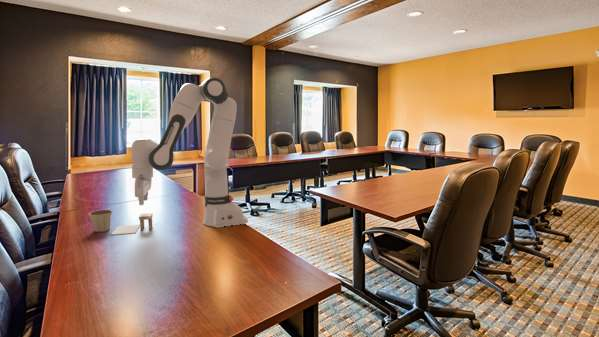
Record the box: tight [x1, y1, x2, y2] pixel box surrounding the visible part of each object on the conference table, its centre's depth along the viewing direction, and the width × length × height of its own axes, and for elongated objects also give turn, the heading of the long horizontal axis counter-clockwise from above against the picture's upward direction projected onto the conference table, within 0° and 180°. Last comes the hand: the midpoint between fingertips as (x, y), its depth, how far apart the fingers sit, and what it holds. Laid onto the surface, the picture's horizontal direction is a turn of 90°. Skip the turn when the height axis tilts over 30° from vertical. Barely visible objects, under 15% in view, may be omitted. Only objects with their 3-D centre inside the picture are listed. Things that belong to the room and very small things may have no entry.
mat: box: [110, 224, 140, 236], centre depth 155 cm, size 10×12×1 cm
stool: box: [138, 212, 153, 232], centre depth 156 cm, size 5×5×7 cm
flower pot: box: [88, 209, 113, 233], centre depth 154 cm, size 9×9×9 cm
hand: (143, 202), depth 154 cm, fingers open, 8 cm apart
